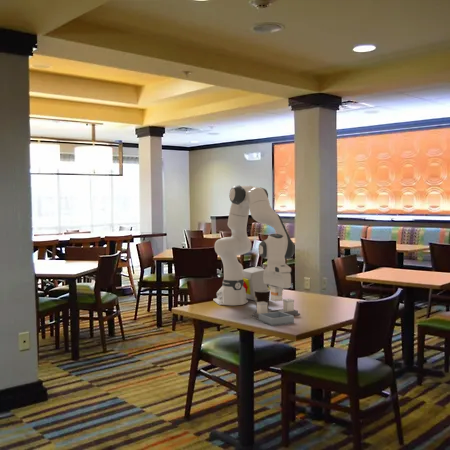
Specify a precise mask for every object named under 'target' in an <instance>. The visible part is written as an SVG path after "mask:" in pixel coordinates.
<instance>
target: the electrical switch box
mask: <svg viewBox="0 0 450 450" xmlns="http://www.w3.org/2000/svg"><path fill="white" fill-rule="evenodd" d="M264 270H265V268H263V267H261V266H259V265H258V266H253V267H249V268H245V269H244V268H243V279H244V285H243V287H244V288H245V291H246V300H251V301H253V302H256V299H255V290H269V288H268V284H265V283H264V282H263V276H264Z"/></svg>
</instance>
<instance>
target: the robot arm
mask: <svg viewBox="0 0 450 450" xmlns="http://www.w3.org/2000/svg"><path fill="white" fill-rule="evenodd" d="M229 200H230V202H231V204H230V208H229V214H228V219H227V227H228V228H229V229H230V231H231V236H227V237H225V236H224V237H222V238H218V239H217V240H216V241H215V242H214V251H215V253H216V255H217V256H219V257H220V259H221V262H222V266H223V279H222V286H221V287H220V288H219V289H218V290H217V292H216V298H213V301H214V302H215V303H216V304H217V305H219V306H222V305H223V306H242V305H245V304H246V303H248V302H249V299H247V298H246V291H245V288H244V287H243V285H244V279H243V270H244V266H243V265H242V263H240V262H239V260H238V256H242V255H245V254H247V253H249V252H250V251H251V249H252V241H251V239H250V238H249V237H248V233H247V232H248V231H247V230H248V229H247V228H248V227H247V225H248V218H249V214H250V216H251V218H252V219H253V220H254V221H256V222H257V223H260V224H263V225H266V226H269V227H271V228H273V229H274V230H275V232H276V233H270V234H269V235H268V236H267V238H266V239H264V240H262V241H260V243H259V244H258V254H259V256H260V258H262V259H267V260H266V261H267V263H266V264H267V265H266V266H265V267H264V269H265V270H264V276H263V282H264V283H265V284H267V285H269V288H270V290H271V286H276V287H278V289H279V291H278V292H277V296H282V297H283V291H284V289H290V287H291V285H292V275H291V273H292V267H290V266H289V265H288V264H287V263H286V260H289V259H291V258H292V257H293V256H294V254H295V252H296V246H295V243H294V242H293V239H292V238H291V237H290V235H289V232H288V231H287V228H286V227H285V224H284V222H283V220H282V218H281V215H279V213H277V212H275V210H274V209H273V208H272V206H271V204H270V200H269V193H268V190H267V189H266V188H263V187H259V186H253V185H240V184H239V185H234V186H231V189H230V191H229Z"/></svg>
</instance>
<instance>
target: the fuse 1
mask: <svg viewBox="0 0 450 450" xmlns="http://www.w3.org/2000/svg"><path fill="white" fill-rule="evenodd" d="M268 311H269V306H268V303H267V302H264V301H262V302H257V308H256V312H257V313H258V314H261V313H268Z"/></svg>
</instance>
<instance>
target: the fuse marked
mask: <svg viewBox="0 0 450 450" xmlns="http://www.w3.org/2000/svg"><path fill="white" fill-rule="evenodd" d="M278 291H279V289H278V287H276V286H271V289H270V301H273V302H283V295H282V296H277V292H278Z"/></svg>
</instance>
